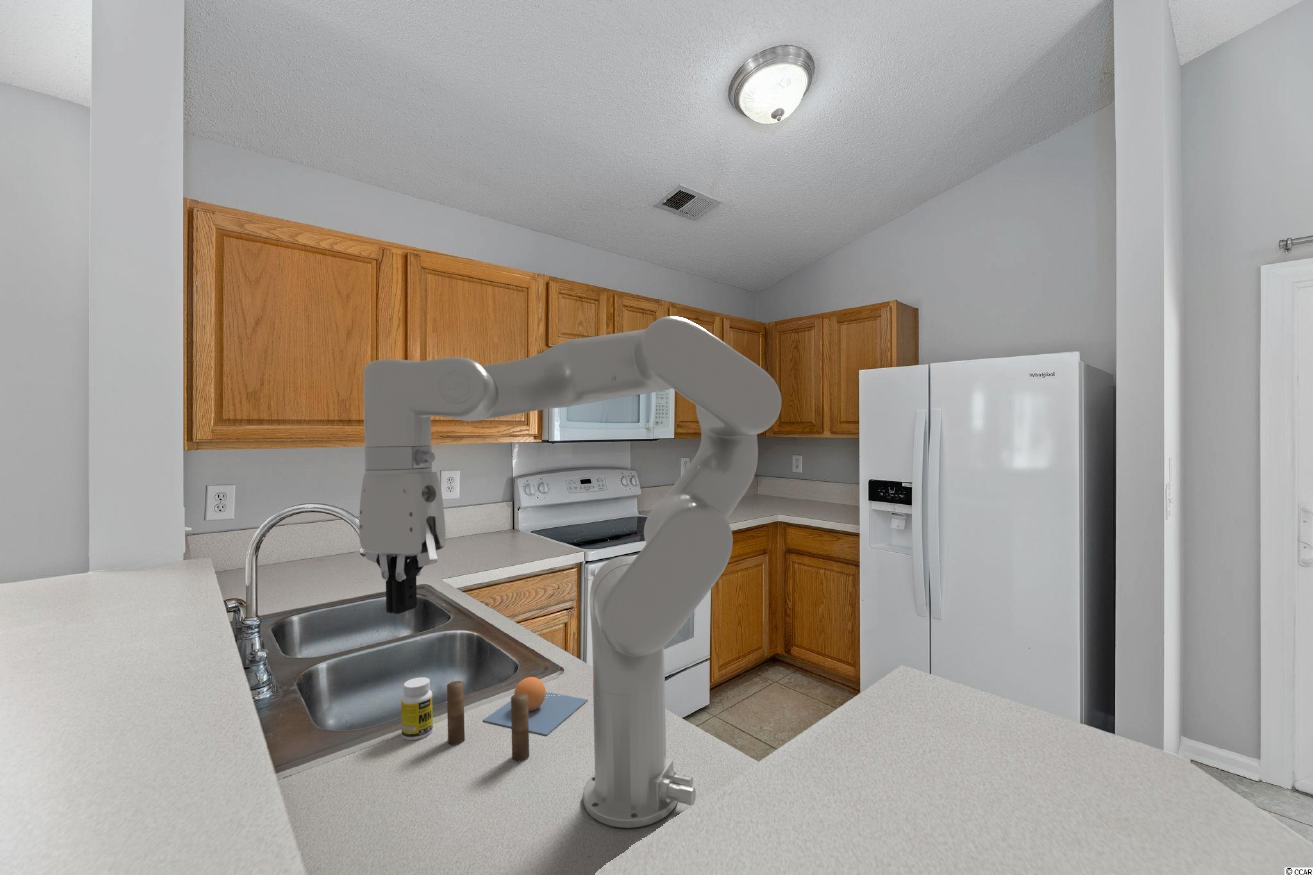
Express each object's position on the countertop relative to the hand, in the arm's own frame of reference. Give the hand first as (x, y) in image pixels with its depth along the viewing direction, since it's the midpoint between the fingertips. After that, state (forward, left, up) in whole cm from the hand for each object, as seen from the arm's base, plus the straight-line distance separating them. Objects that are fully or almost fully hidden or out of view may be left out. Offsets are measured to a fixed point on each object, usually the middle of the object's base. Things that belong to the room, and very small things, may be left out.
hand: (401, 610), depth 69 cm
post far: (+9, -19, -27) cm, 34 cm away
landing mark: (+3, -32, -27) cm, 42 cm away
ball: (+4, -32, -24) cm, 40 cm away
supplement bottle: (+17, -18, -27) cm, 37 cm away
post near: (-3, -19, -27) cm, 33 cm away
